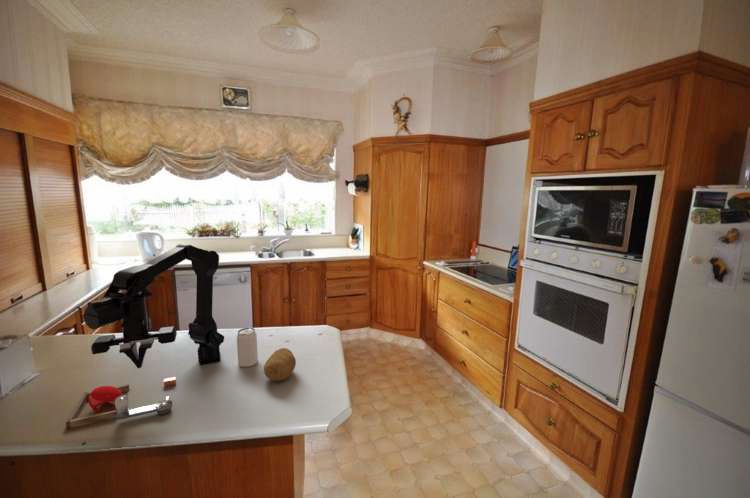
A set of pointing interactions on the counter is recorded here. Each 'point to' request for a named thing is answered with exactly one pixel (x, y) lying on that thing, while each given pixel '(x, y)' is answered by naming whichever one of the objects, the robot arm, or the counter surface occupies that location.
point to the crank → (124, 411)
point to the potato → (280, 365)
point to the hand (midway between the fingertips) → (139, 367)
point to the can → (247, 347)
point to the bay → (76, 422)
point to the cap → (103, 396)
